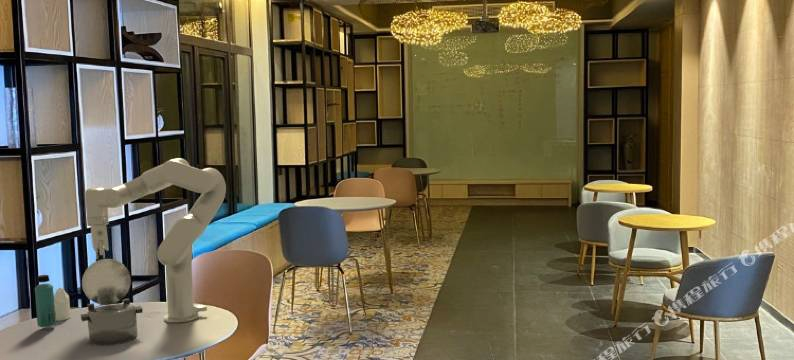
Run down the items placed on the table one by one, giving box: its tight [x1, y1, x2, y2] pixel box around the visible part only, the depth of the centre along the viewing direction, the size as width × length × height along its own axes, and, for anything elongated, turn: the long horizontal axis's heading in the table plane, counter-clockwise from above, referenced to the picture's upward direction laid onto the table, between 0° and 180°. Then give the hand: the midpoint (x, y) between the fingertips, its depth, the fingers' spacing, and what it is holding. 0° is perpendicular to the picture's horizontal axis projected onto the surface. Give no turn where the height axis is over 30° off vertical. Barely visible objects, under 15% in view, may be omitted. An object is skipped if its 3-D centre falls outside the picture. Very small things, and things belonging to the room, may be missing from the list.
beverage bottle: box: [34, 274, 57, 328], centre depth 286 cm, size 6×7×20 cm
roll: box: [54, 287, 71, 322], centre depth 300 cm, size 6×12×6 cm
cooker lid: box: [81, 258, 132, 306], centre depth 281 cm, size 16×16×4 cm
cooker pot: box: [80, 298, 144, 346], centre depth 273 cm, size 20×17×11 cm
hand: (101, 268), depth 294 cm, fingers closed
